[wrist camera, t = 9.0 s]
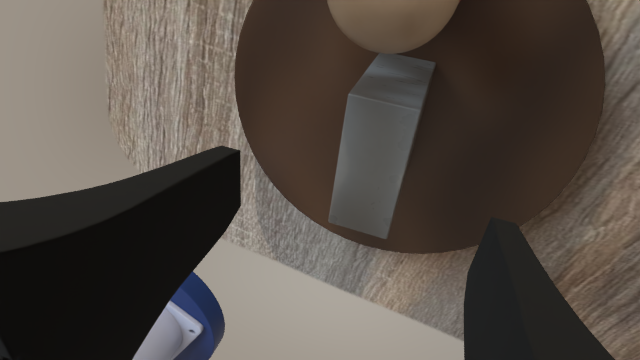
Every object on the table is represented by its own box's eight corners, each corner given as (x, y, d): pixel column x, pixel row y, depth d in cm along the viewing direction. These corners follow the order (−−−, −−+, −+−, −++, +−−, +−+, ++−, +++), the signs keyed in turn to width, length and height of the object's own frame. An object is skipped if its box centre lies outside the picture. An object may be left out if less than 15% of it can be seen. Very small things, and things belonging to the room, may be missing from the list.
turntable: (696, -77, 13) (1092, -68, 4) (512, 274, 21) (532, 500, 13) (247, -132, 16) (-10, -187, 7) (244, 195, 24) (121, 337, 16)
